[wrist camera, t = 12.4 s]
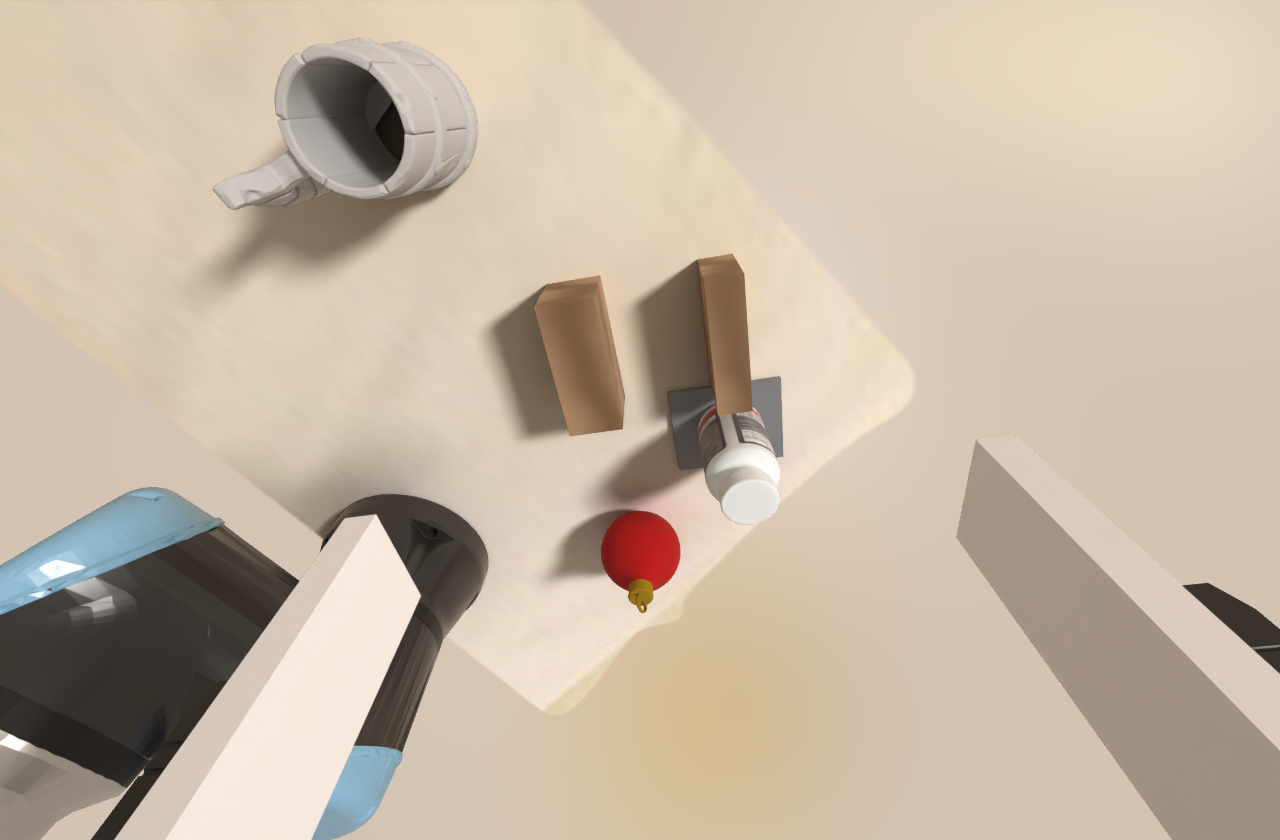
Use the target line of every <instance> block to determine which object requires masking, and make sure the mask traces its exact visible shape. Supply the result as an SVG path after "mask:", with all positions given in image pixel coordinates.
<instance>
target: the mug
mask: <svg viewBox="0 0 1280 840" xmlns="http://www.w3.org/2000/svg"><path fill="white" fill-rule="evenodd" d="M392 101H393V102H394V104H395V106H396V108H397V111H398V113H399V116H400V118H401V121H402V125H403V128H404V132H405V135H404V150H403V155H402V159H401V162H400V161H399V160H398V159H397V158H395V157H394V156H393V155H392V154H391V153H390V152H389V151H388V150H387V148H386V147H385V145H384V144H383V142H382V141H381V139H380V137H379V135H378V133H377V131H376V128H375V126H376V125H377V123H378V122H379V120H380V119H381V117H382V116H383V114H384V113H385V111H386V110H387V108H388V107H389V105H390V104H391V102H392ZM275 109H276V115H277V116H279V117H281V118H283V119H279V120H278V123H279V127H280V130H281V134H282V136H283V138H284V141H285V143H286V145H287V147H288V148H289V151H287V152H286V153H284V154H283V155H281V156H280V157H278V158H277V159H276V160H274V161H273V162H272V163H270V164H268V165H266V166H264V167H260V168H257V169H254V170H251V171H247V172H244V173H240V174H237V175H234V176H232V177H229V178H227V179H224V180H222V181H221V182H219V183H218V184H216V185H215V186H214V187H213V191H214V192H215V193H216V194H217V195H218V197H219V198H220V199H221V200H222V201H223V202H224V203H225V204H226V205H227V206H228V207H229V208H230V209H233V210H236V209H240V208H242V207H245V206H250V205H255V206H284V207H289V206H293V205H297V204H300V203H303V202H306V201H308V200H310V199H314V198H317V197H320V196H322V195H325V194H327V193H328V192H330V191H331V190H334V191H335V192H337V193H339V194H341V195H344V196H348V197H352V198H357V199H374V198H381V199H394V198H399V197H404V196H408V195H410V194H413V193H415V192H417V191H427V190H434V189H439V188H442V187H444V186H447V185H449V184H451V183H452V182H454V181H455V180H456V179H458V178H459V177H460V176H461V175H462V174H463V173H464V172H465V170H466V169H467V168H468V167H469V165H470V163H471V160H472V158H473V156H474V153H475V149H476V144H477V136H478V132H477V123H478V122H477V116H476V112H475V108H474V106H473V103H472V101H471V98H470V96H469V94H468V92H467V90H466V88H465V86H464V85H463V83H462V82H461V80H460V79H459V78H458V76H457V75H456V74H455V73H454V72H453V71H452V69H451V68H450V67H449V66H448V65H447V64H445V63H444V62H443V61H442V60H441V59H440V58H438V57H437V56H435V55H434V54H432V53H431V52H429V51H427V50H425V49H423V48H420V47H417V46H413V45H412V44H410V43H407V42H398V43H384V44H378V43H374V42H373V40H371V39H366V38H356V39H351V40H346V41H340V42H337V43H334V44H318V45H313V46H310V47H309V48H307V49H306V50H304V51H303V52H302V53H296V54H294V55H293V56H292V57H291V58H290V59H289V60H288V61H287V63H286V64H285V65H284V67H283V68H282V70H281V73H280V76H279V78H278V81H277V85H276V90H275Z"/></svg>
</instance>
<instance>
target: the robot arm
mask: <svg viewBox="0 0 1280 840" xmlns="http://www.w3.org/2000/svg"><path fill="white" fill-rule="evenodd" d="M223 524H224V521H223V520H222V519H221V518H213V517H212V516H211V515H209V514H207V513H206V512H204V511H203V510H201V509H200V508H198V507H197V506H195V505H193V504H192V503H190V502H189V501H187V500H186V499H184V498H183V497H181V496H179V495H178V494H177V493H175V492H173V491H170V490H167V489H164V488H156V487H148V488H141V489H137V490H134V491H130V492H128V493H126V494H124V495H122V496H120V497H118V498H116V499H114V500H113V501H111V502H109V503H107V504H105V505H104V506H102V507H100V508H98V509H96V510H95V511H93V512H92V513H90V514H88V515H86V516H84V517H82V518H81V519H79V520H77V521H76V522H74V523H72V524H70V525H69V526H67V527H65V528H64V529H62V530H60V531H58V532H57V533H55V534H53V535H52V536H50V537H48V538H46V539H44V540H43V541H41V542H39V543H38V544H36V545H34V546H32V547H31V548H29V549H27V550H26V551H24V552H22V553H21V554H19V555H17V556H16V557H14V558H12V559H11V560H9V561H7V562H5V563H4V564H2V565H0V840H41V838H42V837H43V836H44V835H45V834H46V833H47V832H48V831H49V830H50V828H51V827H52V826H53V825H54V824H55V823H56V822H57V821H59V820H61V819H62V818H64V817H65V816H67V815H69V814H70V813H72V812H74V811H77V810H80V809H83V808H86V807H88V806H91V805H93V804H97V803H100V802H102V801H105V800H108V799H110V798H114V797H116V796H119V795H120V794H121V793H122V792H123V791H124V790H125V789H126V788H127V787H128V786H129V785H130V784H131V783H132V781H133V780H134V779H135V778H136V777H137V776H138V775H139V773H140V772H141V771H142V770H143V769H144V774H143V775H142V776H139V777H138V778H137V779H136V780H135V781H134V783H133V784H132V785H131V787H130V788H129V790H128V791H127V792H126V794H125V795H124V796H123V798H122V799H121V800H120V802H119V803H118V804H117V806H116V807H115V808H114V810H113V811H112V812H111V814H110V815H109V816H108V818H107V819H106V820H105V822H104V823H103V824H102V826H101V827H100V828H99V830H98V831H97V832H96V834H95V835H94V836H93V838H92V839H91V840H331V839H335V838H338V837H341V836H344V835H346V834H349V833H351V832H353V831H355V830H356V829H358V828H359V827H361V826H362V825H363V824H365V823H366V822H367V821H368V820H369V819H370V818H371V817H372V816H373V814H374V813H375V812H376V810H377V809H378V807H379V805H380V803H381V801H382V799H383V796H384V794H385V792H386V790H387V788H388V785H389V783H390V781H391V779H392V777H393V774H394V772H395V770H396V768H397V766H398V765H399V764H400V762H401V760H402V751H403V748H404V745H405V742H406V740H407V737H408V735H409V732H410V729H411V726H412V723H413V721H414V718H415V715H416V713H417V710H418V707H419V704H420V702H421V699H422V696H423V694H424V691H425V688H426V685H427V683H428V680H429V677H430V674H431V672H432V669H433V666H434V663H435V661H436V658H437V655H438V653H439V650H440V647H441V644H442V642H443V639H444V638H445V637H446V635H447V634H448V633H449V631H450V630H451V629H452V628H453V626H454V625H455V624H456V622H457V621H458V620H459V618H460V617H461V616H462V614H463V613H464V612H465V611H466V610H467V609H468V608H469V607H470V606H471V605H472V604H473V602H474V601H475V600H476V598H477V597H478V595H479V593H480V591H481V589H482V586H483V583H484V580H485V577H486V574H487V570H488V555H487V551H486V548H485V545H484V543H483V541H482V540H481V538H480V536H479V535H478V534H477V532H476V531H475V530H474V529H473V528H472V527H471V525H469V524H468V523H467V522H466V521H465V520H464V519H463V518H461V517H460V516H459V515H457V514H456V513H454V512H452V511H451V510H449V509H447V508H445V507H443V506H441V505H439V504H437V503H434V502H431V501H428V500H425V499H422V498H418V497H413V496H406V495H379V496H373V497H369V498H365V499H362V500H360V501H358V502H356V503H354V504H352V505H350V506H349V507H348V508H346V509H345V510H344V511H343V512H342V513H341V514H340V515H339V517H338V518H337V519H336V521H335V522H334V523H333V525H332V526H331V528H330V529H329V530H328V532H327V534H326V535H325V537H324V540H323V542H322V546H321V551H320V553H319V555H318V556H317V558H316V559H315V560H314V562H313V563H312V565H311V566H310V568H309V569H308V570H307V572H306V573H305V574H304V576H303V577H302V579H301V580H300V581H299V580H297V579H296V578H295V577H293V576H292V575H291V574H289V573H288V572H287V571H285V570H284V569H283V568H281V567H280V566H278V565H277V564H276V563H274V562H273V561H272V560H270V559H269V558H268V557H266V556H265V555H263V554H262V553H261V552H259V551H258V550H257V549H255V548H254V547H253V546H251V545H250V544H249V543H247V542H246V541H244V540H243V539H242V538H240V537H239V536H238V535H236V534H235V533H234V532H233V531H231V530H230V529H228V528H227V527H226V526H225V525H223ZM956 538H957V539H958V540H959V542H960V543H961V545H962V546H963V547H964V549H965V550H966V552H967V553H968V554H969V556H970V557H971V559H972V560H973V561H974V563H975V564H976V566H977V567H978V568H979V570H980V571H981V573H982V574H983V575H984V577H985V578H986V579H987V581H988V582H989V584H990V585H991V587H992V588H993V589H994V591H995V592H996V594H997V595H998V596H999V598H1000V599H1001V601H1002V602H1003V603H1004V605H1005V606H1006V608H1007V609H1008V610H1009V612H1010V613H1011V614H1012V616H1013V617H1014V619H1015V620H1016V622H1017V623H1018V624H1019V626H1020V627H1021V629H1022V630H1023V631H1024V633H1025V634H1026V636H1027V637H1028V638H1029V640H1030V641H1031V643H1032V644H1033V645H1034V647H1035V648H1036V650H1037V651H1038V652H1039V654H1040V655H1041V657H1042V658H1043V659H1044V661H1045V662H1046V664H1047V665H1048V666H1049V668H1050V669H1051V671H1052V672H1053V673H1054V675H1055V676H1056V678H1057V679H1058V680H1059V682H1060V683H1061V684H1062V686H1063V687H1064V689H1065V690H1066V691H1067V693H1068V694H1069V696H1070V697H1071V699H1072V700H1073V701H1074V703H1075V704H1076V706H1077V707H1078V708H1079V710H1080V711H1081V713H1082V714H1083V715H1084V717H1085V718H1086V720H1087V721H1088V722H1089V724H1090V725H1091V727H1092V728H1093V730H1094V731H1095V732H1096V734H1097V735H1098V736H1099V738H1100V739H1101V741H1102V742H1103V743H1104V745H1105V746H1106V748H1107V749H1108V750H1109V752H1110V753H1111V755H1112V756H1113V757H1114V759H1115V760H1116V762H1117V763H1118V764H1119V766H1120V767H1121V769H1122V770H1123V772H1124V773H1125V774H1126V776H1127V777H1128V779H1129V780H1130V781H1131V783H1132V784H1133V786H1134V787H1135V788H1136V790H1137V791H1138V793H1139V794H1140V795H1141V797H1142V798H1143V799H1144V801H1145V802H1146V804H1147V805H1148V807H1149V808H1150V809H1151V811H1152V812H1153V814H1154V815H1155V816H1156V818H1157V819H1158V821H1159V822H1160V823H1161V825H1162V826H1163V828H1164V829H1165V830H1166V832H1167V833H1168V835H1169V836H1170V837H1171V839H1172V840H1280V629H1279V628H1278V627H1277V626H1275V625H1274V624H1273V623H1272V622H1271V621H1269V620H1268V619H1267V618H1266V617H1264V616H1263V615H1262V614H1261V613H1260V612H1258V611H1257V610H1256V609H1254V608H1253V607H1251V606H1249V605H1247V604H1245V603H1243V602H1242V601H1240V600H1238V599H1236V598H1235V597H1233V596H1231V595H1229V594H1227V593H1225V592H1224V591H1222V590H1220V589H1218V588H1216V587H1214V586H1213V585H1211V584H1209V583H1203V584H1193V585H1181V584H1180V583H1179V582H1177V581H1176V580H1175V579H1174V578H1173V577H1172V576H1171V575H1170V574H1169V573H1167V572H1166V571H1165V570H1164V569H1163V568H1162V567H1161V566H1160V565H1159V564H1158V563H1156V562H1155V561H1154V560H1153V559H1152V558H1151V557H1150V556H1149V555H1148V554H1146V553H1145V552H1144V551H1143V550H1142V549H1141V548H1140V547H1139V546H1137V545H1136V544H1135V543H1134V542H1133V541H1132V540H1131V539H1130V538H1129V537H1128V536H1126V535H1125V534H1124V533H1123V532H1122V531H1121V530H1120V529H1119V528H1117V527H1116V526H1115V525H1114V524H1113V523H1112V522H1111V521H1110V520H1109V519H1108V518H1107V517H1105V516H1104V515H1103V514H1102V513H1101V512H1100V511H1099V510H1097V508H1095V507H1094V506H1093V505H1092V504H1091V503H1090V502H1089V501H1088V500H1087V499H1085V498H1084V497H1083V496H1082V495H1081V494H1080V493H1079V492H1078V491H1077V490H1075V489H1074V488H1073V487H1072V486H1071V485H1070V484H1069V483H1068V482H1067V481H1066V480H1064V479H1063V478H1062V477H1061V476H1060V475H1059V474H1058V473H1057V472H1056V471H1054V470H1053V469H1052V468H1051V467H1050V466H1049V465H1048V464H1047V463H1046V462H1044V461H1043V460H1042V459H1041V458H1040V457H1039V456H1038V455H1037V454H1036V453H1035V452H1033V451H1032V450H1031V449H1030V448H1029V447H1028V446H1027V445H1026V444H1025V443H1023V442H1022V441H1021V440H1020V439H1019V438H1018V437H1017V436H1016V435H1009V436H1001V437H993V438H986V439H978V440H976V442H975V447H974V452H973V457H972V462H971V467H970V472H969V477H968V482H967V486H966V491H965V496H964V501H963V506H962V511H961V516H960V522H959V526H958V531H957V536H956ZM145 766H146V767H145Z"/></svg>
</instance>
